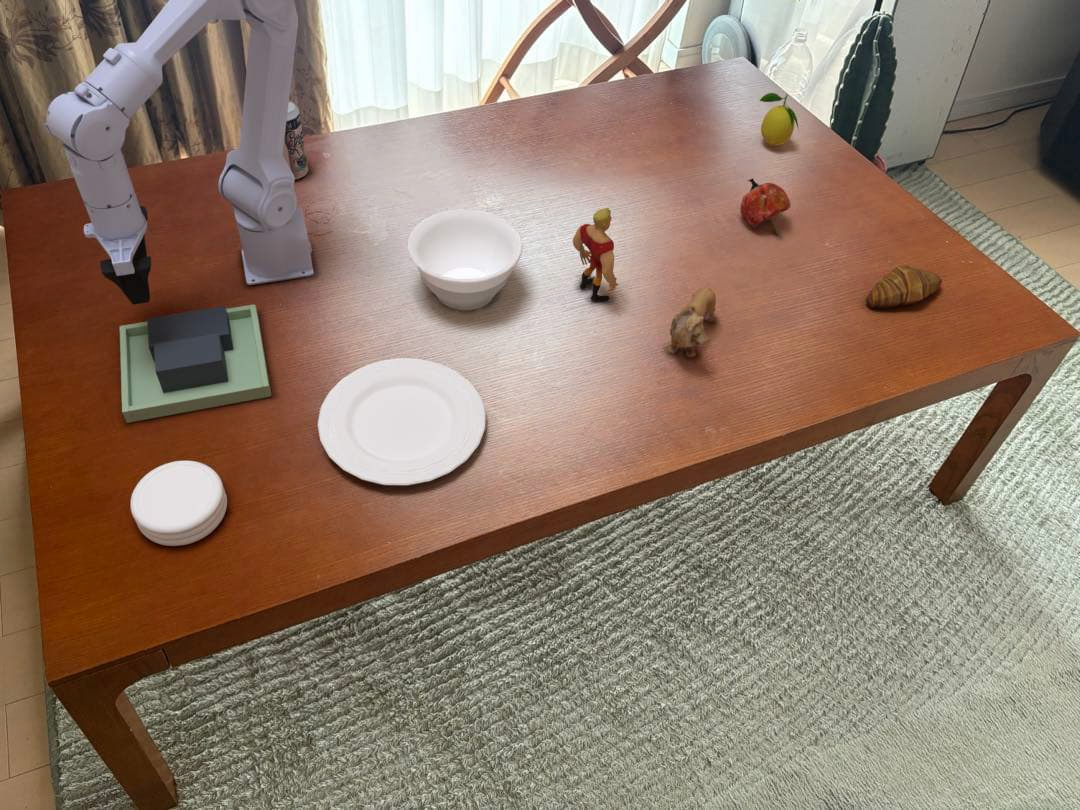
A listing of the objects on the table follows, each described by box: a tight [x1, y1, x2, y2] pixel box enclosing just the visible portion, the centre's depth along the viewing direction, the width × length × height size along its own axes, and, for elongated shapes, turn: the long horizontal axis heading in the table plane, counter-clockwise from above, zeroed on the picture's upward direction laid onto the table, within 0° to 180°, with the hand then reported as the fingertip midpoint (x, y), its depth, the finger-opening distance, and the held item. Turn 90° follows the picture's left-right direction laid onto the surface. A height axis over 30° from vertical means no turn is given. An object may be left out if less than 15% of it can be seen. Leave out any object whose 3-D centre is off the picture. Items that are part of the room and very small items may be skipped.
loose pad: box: [154, 333, 228, 393], centre depth 118 cm, size 8×5×4 cm, turn 108°
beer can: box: [283, 100, 309, 180], centre depth 146 cm, size 5×5×12 cm
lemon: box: [759, 92, 800, 147], centre depth 160 cm, size 7×6×10 cm
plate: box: [317, 357, 487, 487], centre depth 116 cm, size 21×21×2 cm
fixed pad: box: [146, 305, 233, 363], centre depth 122 cm, size 10×6×3 cm, turn 108°
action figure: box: [572, 207, 619, 303], centre depth 130 cm, size 10×4×15 cm, turn 31°
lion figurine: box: [667, 287, 717, 358], centre depth 127 cm, size 15×5×9 cm, turn 162°
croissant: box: [865, 265, 943, 309], centre depth 137 cm, size 14×7×5 cm, turn 115°
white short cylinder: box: [130, 460, 228, 547], centre depth 105 cm, size 10×10×4 cm
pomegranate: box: [740, 178, 791, 237], centre depth 146 cm, size 7×7×10 cm
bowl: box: [406, 208, 524, 311], centre depth 131 cm, size 16×16×8 cm
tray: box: [119, 304, 272, 424], centre depth 121 cm, size 18×16×2 cm
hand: (139, 281), depth 118 cm, fingers open, 7 cm apart
